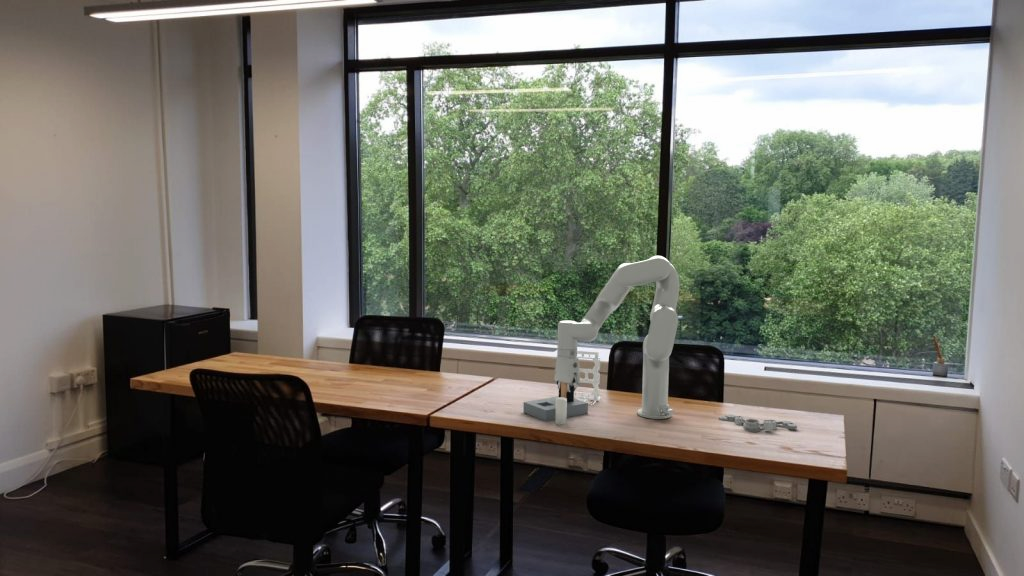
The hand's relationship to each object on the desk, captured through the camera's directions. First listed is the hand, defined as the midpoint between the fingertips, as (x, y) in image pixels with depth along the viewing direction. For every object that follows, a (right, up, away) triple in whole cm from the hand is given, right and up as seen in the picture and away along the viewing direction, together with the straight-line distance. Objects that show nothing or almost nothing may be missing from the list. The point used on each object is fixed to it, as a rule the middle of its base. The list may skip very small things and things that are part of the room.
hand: (566, 399), depth 273 cm
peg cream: (-3, -6, -16) cm, 18 cm away
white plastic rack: (+7, -3, +18) cm, 19 cm away
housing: (-4, -5, -2) cm, 7 cm away
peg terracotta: (0, -2, 0) cm, 2 cm away
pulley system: (+66, -8, -17) cm, 69 cm away
